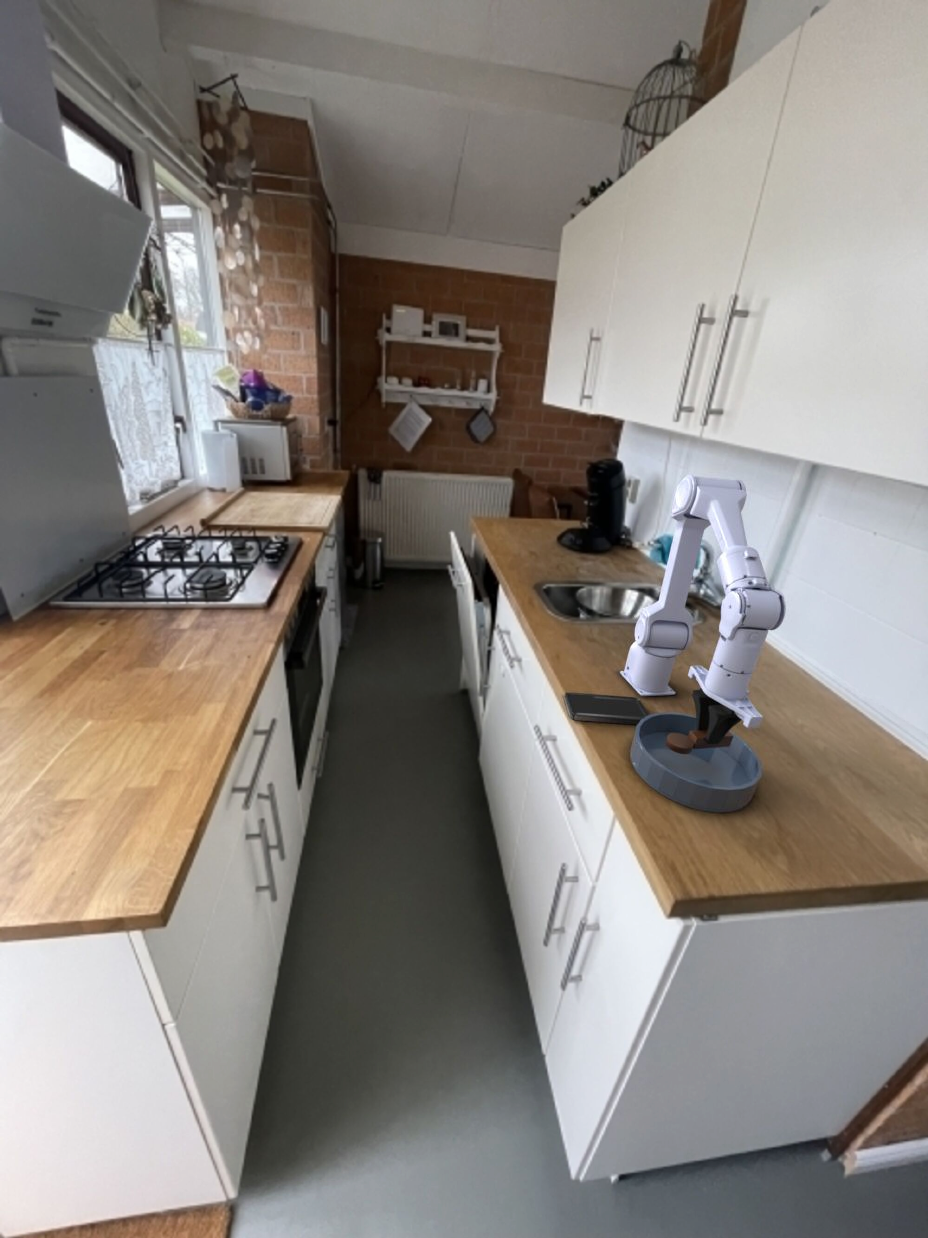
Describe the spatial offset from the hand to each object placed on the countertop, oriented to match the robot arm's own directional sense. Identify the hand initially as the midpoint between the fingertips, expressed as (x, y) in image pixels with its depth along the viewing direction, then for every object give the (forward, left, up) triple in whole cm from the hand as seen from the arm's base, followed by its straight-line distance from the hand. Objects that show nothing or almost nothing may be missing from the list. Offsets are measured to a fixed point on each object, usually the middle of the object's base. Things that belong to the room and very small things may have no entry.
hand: (707, 737), depth 82 cm
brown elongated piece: (0, -1, -1) cm, 2 cm away
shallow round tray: (0, -1, -6) cm, 6 cm away
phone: (-17, -8, -6) cm, 20 cm away
